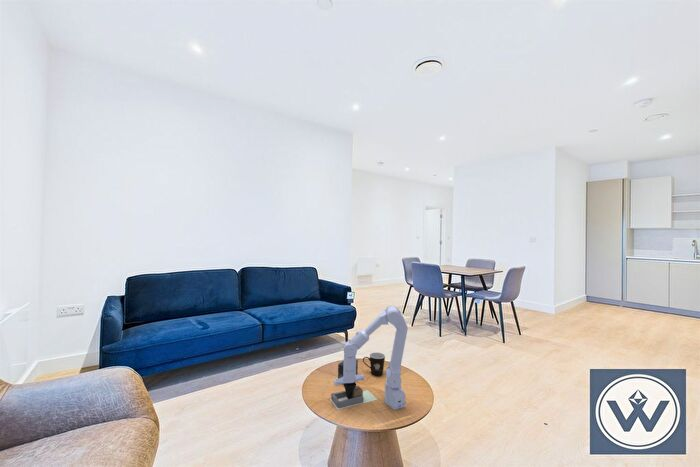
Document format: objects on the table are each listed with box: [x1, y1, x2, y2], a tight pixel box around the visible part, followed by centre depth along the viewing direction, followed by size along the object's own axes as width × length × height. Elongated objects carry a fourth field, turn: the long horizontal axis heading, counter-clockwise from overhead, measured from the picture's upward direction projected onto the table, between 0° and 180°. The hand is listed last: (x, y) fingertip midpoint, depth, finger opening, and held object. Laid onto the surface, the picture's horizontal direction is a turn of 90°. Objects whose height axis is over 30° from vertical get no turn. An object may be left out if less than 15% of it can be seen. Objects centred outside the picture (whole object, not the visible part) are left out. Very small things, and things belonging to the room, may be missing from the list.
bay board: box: [329, 389, 378, 410], centre depth 138 cm, size 9×20×4 cm, turn 116°
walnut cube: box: [351, 385, 364, 398], centre depth 139 cm, size 4×4×4 cm
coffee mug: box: [362, 352, 386, 377], centre depth 167 cm, size 12×9×10 cm
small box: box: [337, 358, 359, 379], centre depth 157 cm, size 11×6×10 cm, turn 149°
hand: (348, 398), depth 137 cm, fingers closed
